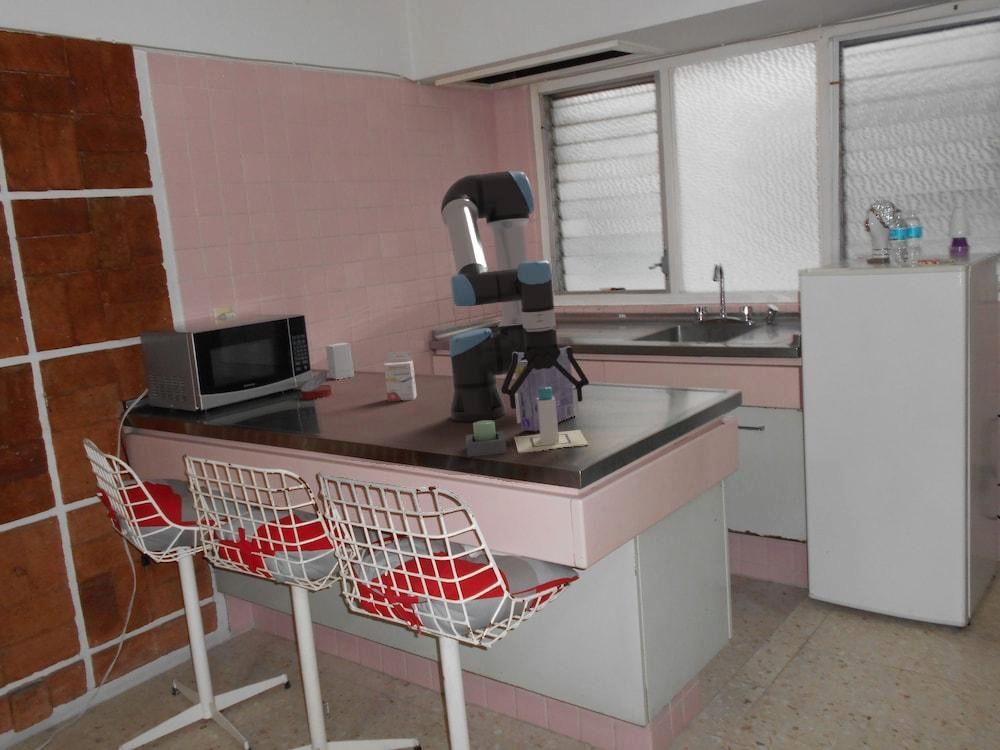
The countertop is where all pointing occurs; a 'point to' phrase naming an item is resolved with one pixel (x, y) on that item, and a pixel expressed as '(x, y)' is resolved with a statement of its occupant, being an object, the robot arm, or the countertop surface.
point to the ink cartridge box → (400, 377)
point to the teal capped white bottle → (547, 415)
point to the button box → (486, 445)
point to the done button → (484, 430)
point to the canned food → (316, 387)
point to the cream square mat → (535, 444)
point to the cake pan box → (530, 394)
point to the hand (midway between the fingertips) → (547, 418)
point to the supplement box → (340, 360)
